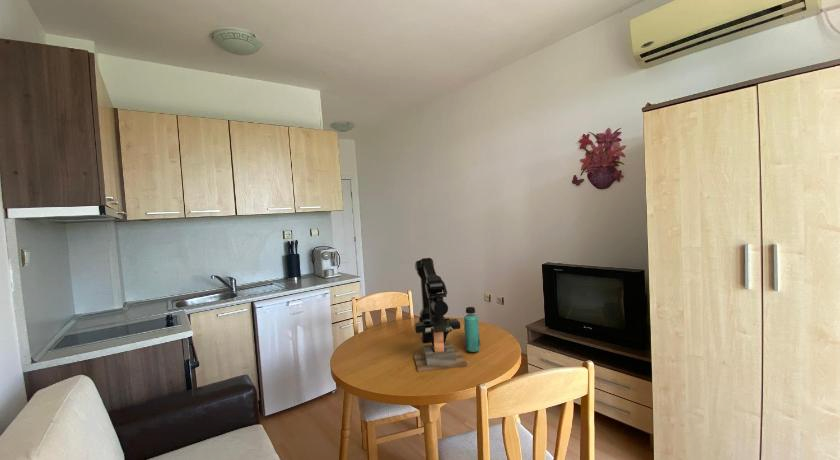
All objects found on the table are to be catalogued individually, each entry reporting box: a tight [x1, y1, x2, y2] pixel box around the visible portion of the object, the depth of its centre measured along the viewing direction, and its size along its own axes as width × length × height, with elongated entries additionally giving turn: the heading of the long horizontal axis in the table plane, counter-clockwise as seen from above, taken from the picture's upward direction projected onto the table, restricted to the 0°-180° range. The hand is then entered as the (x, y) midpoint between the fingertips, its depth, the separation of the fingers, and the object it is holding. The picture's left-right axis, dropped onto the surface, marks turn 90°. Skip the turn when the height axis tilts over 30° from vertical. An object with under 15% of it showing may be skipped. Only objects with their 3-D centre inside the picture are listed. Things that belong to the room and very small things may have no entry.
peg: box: [432, 328, 444, 352], centre depth 148 cm, size 4×4×10 cm
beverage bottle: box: [463, 306, 481, 353], centre depth 154 cm, size 6×7×20 cm
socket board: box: [413, 342, 468, 373], centre depth 148 cm, size 16×20×5 cm
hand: (438, 345), depth 148 cm, fingers closed on peg, 4 cm apart
